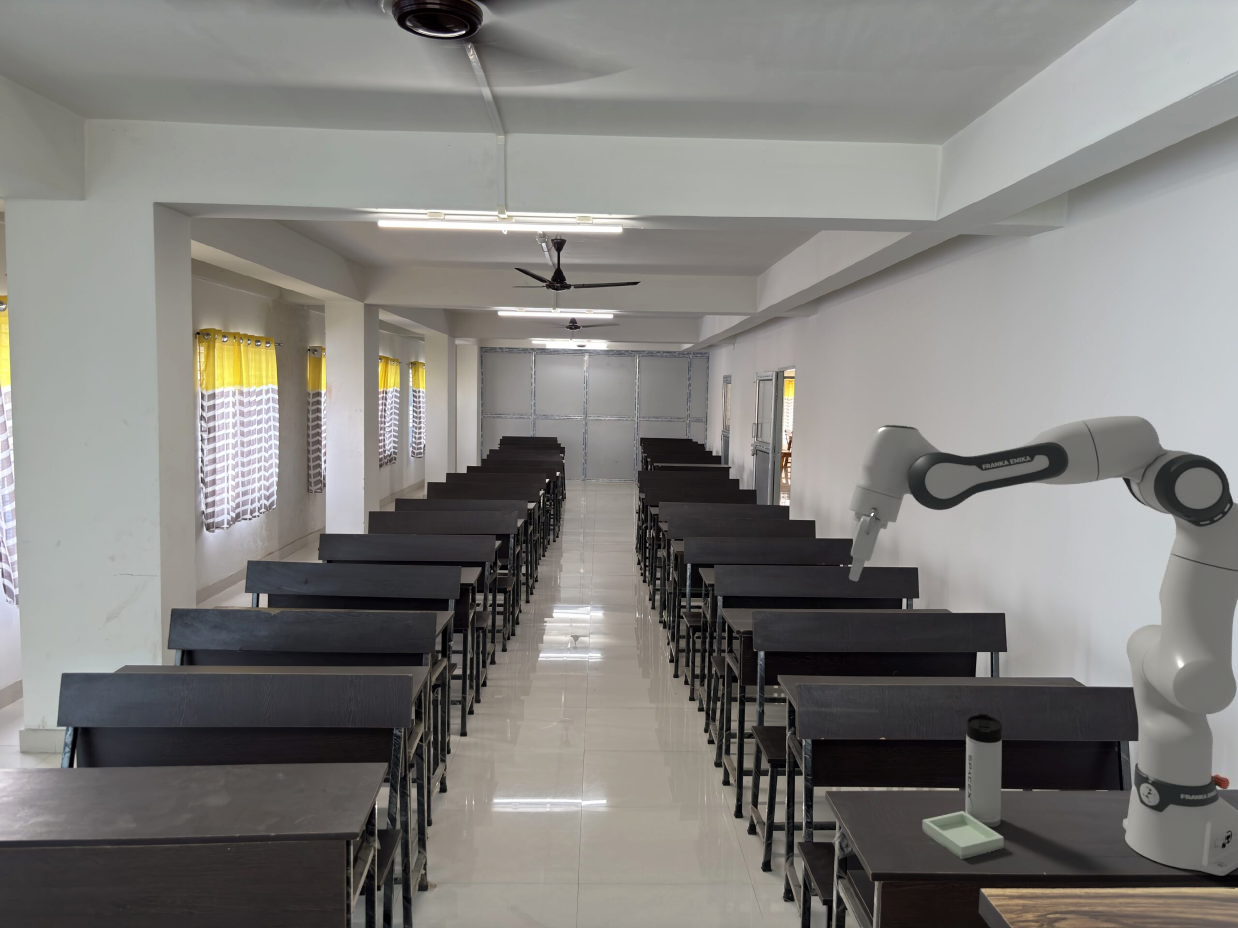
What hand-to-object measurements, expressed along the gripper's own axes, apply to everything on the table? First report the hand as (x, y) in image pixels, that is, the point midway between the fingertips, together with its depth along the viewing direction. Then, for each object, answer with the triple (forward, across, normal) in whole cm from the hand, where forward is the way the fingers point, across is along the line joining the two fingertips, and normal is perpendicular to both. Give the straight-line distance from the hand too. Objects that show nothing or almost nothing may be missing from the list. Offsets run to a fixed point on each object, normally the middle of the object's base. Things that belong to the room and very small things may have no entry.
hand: (853, 576), depth 161 cm
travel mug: (+39, +10, -36) cm, 54 cm away
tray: (+41, +1, -32) cm, 52 cm away
